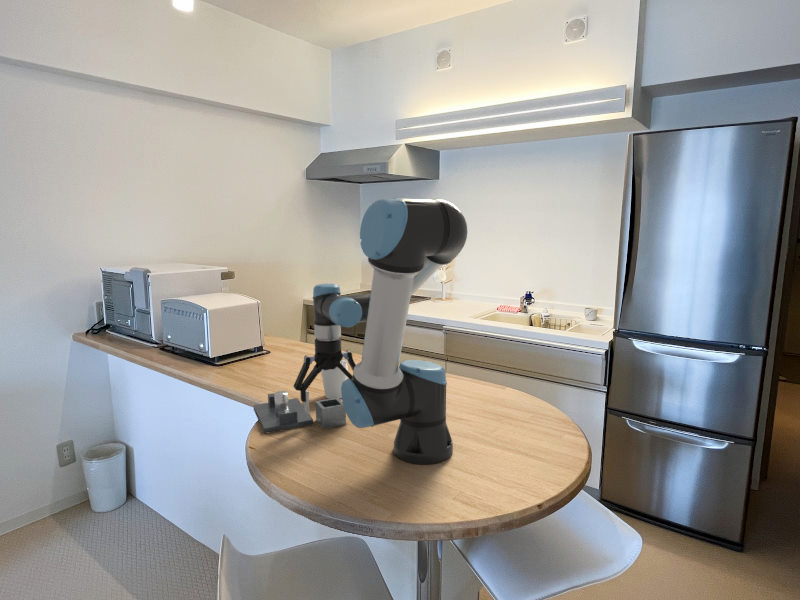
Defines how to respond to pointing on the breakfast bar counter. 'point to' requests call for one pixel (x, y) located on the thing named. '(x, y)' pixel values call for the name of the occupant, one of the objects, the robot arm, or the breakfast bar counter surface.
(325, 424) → the grey hollow block
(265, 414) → the shaft base
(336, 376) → the cup
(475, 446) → the breakfast bar counter surface
